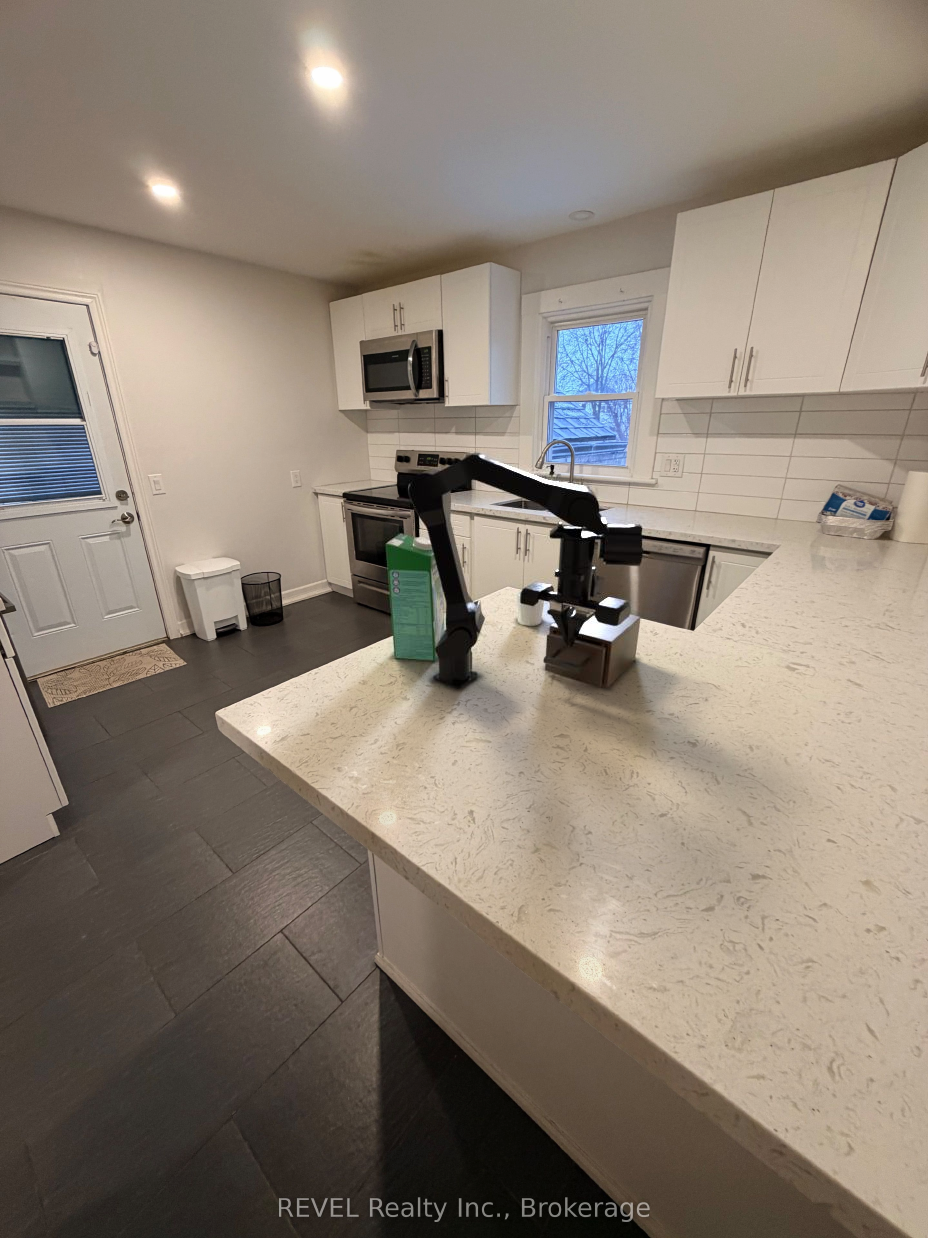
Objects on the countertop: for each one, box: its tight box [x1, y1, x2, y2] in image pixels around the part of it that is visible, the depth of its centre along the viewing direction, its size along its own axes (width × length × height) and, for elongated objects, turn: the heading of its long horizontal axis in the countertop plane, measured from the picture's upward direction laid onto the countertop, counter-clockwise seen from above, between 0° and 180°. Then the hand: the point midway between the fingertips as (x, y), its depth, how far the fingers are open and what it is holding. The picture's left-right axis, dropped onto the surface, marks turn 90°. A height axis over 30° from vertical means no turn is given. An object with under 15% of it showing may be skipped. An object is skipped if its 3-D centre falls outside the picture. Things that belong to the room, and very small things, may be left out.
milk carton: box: [385, 533, 446, 662], centre depth 104 cm, size 9×9×25 cm
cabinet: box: [549, 610, 642, 689], centre depth 99 cm, size 15×13×10 cm
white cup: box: [515, 591, 545, 627], centre depth 121 cm, size 7×7×7 cm
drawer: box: [543, 631, 607, 688], centre depth 96 cm, size 18×11×8 cm, turn 142°
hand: (569, 646), depth 90 cm, fingers closed
